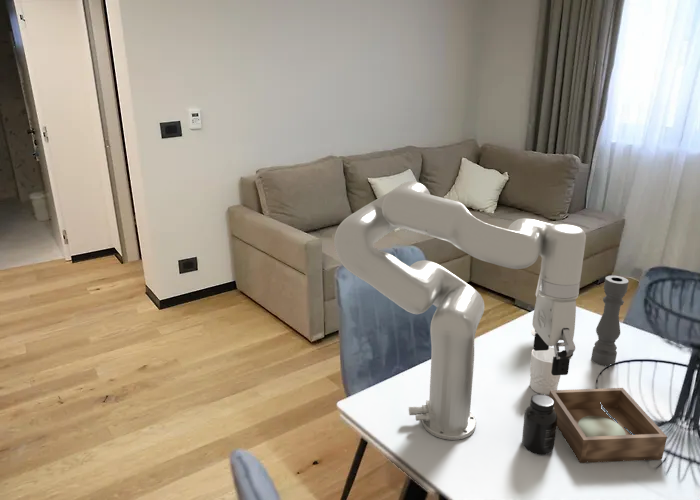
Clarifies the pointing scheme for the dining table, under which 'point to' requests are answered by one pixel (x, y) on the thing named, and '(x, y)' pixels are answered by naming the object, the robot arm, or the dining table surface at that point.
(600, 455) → the walnut box
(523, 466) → the dining table surface
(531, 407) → the supplement bottle
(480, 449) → the dining table surface
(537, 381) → the white cup
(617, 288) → the candle holder
